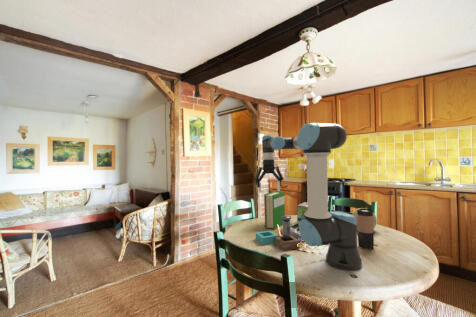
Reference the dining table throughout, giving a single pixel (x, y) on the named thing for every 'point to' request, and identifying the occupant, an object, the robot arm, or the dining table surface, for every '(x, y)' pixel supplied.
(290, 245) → the walnut mount
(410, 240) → the dining table surface
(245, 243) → the dining table surface
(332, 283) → the dining table surface
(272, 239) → the teal socket
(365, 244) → the travel mug
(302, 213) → the tea box
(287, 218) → the lock pin
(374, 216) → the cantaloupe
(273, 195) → the hardback book
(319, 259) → the dining table surface
